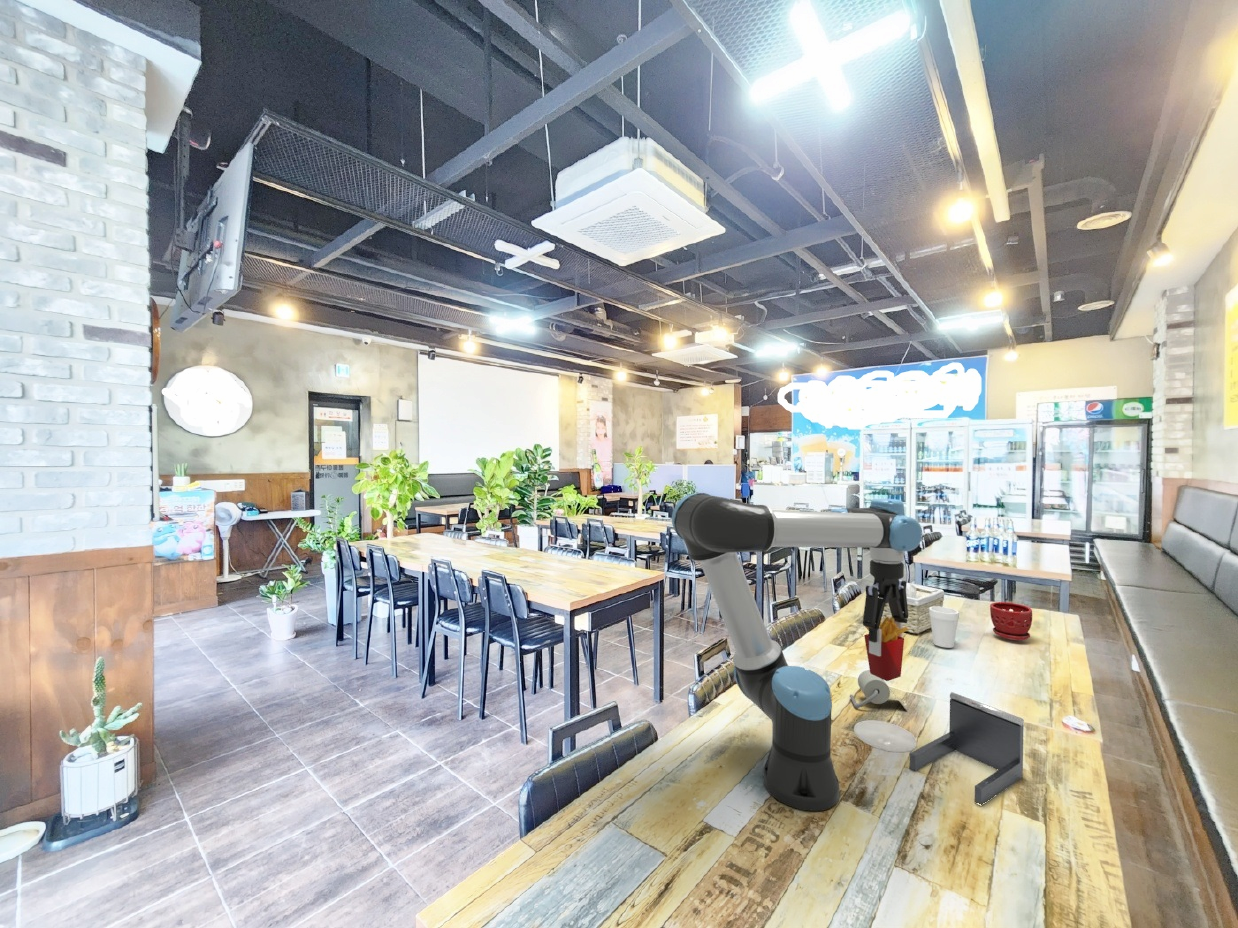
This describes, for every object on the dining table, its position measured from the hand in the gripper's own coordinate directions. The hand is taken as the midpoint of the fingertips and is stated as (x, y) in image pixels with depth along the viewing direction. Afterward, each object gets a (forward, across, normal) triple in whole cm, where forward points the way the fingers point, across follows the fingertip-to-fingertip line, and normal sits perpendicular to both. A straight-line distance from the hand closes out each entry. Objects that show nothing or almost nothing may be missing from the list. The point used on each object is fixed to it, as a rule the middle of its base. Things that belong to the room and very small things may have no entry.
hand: (885, 650), depth 128 cm
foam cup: (+22, +80, +26) cm, 87 cm away
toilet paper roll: (+26, +17, +9) cm, 32 cm away
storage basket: (+23, +92, +45) cm, 105 cm away
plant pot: (+23, +111, +17) cm, 114 cm away
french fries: (+6, +1, -1) cm, 6 cm away
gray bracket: (+22, -1, -18) cm, 29 cm away
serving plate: (+22, 0, 0) cm, 22 cm away
